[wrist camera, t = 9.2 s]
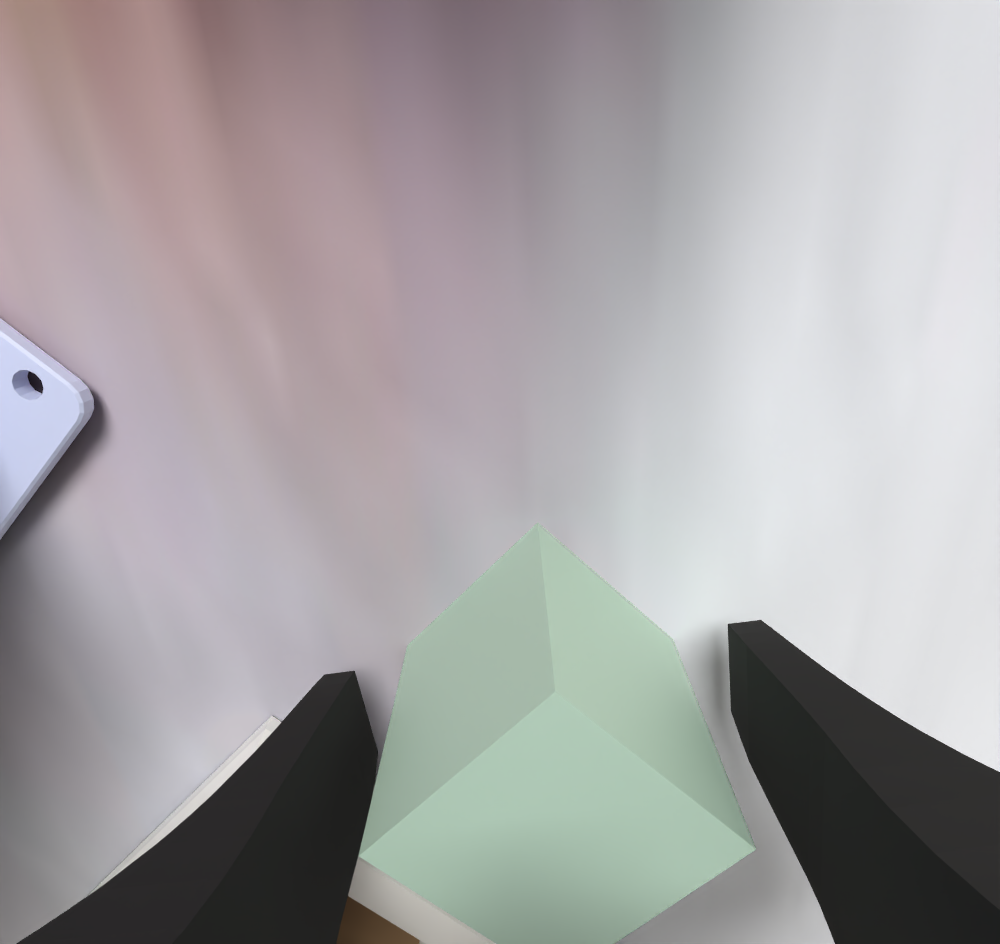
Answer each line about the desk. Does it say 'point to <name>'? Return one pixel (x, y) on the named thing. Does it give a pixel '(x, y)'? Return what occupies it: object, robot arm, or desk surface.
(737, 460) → the desk surface
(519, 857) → the sage block
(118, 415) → the desk surface
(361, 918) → the walnut block
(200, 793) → the slot board
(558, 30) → the desk surface
